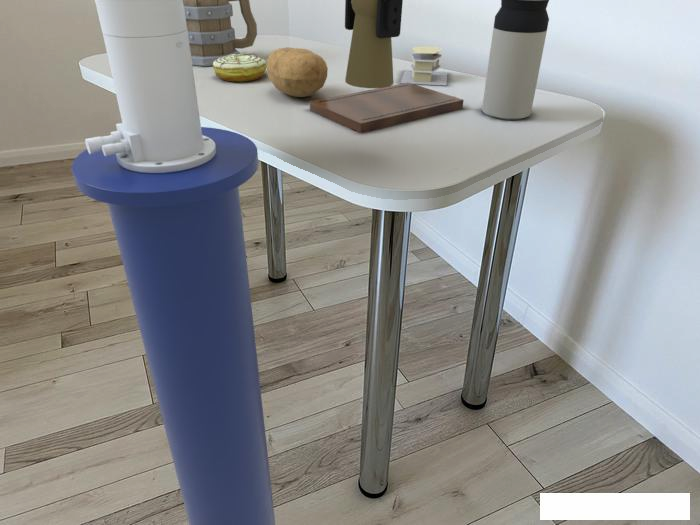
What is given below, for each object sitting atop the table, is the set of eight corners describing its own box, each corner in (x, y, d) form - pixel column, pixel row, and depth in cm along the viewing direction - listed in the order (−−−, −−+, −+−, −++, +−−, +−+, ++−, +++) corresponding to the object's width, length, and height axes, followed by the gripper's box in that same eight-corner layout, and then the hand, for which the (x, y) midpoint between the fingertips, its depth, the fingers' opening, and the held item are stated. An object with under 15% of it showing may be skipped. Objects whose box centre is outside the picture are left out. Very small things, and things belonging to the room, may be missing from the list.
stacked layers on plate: (446, 85, 105) (449, 56, 102) (400, 83, 106) (402, 53, 103) (447, 73, 113) (450, 45, 110) (404, 71, 115) (406, 43, 112)
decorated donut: (265, 69, 115) (263, 50, 113) (269, 82, 106) (267, 62, 104) (214, 71, 113) (212, 52, 111) (214, 84, 104) (212, 63, 102)
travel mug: (520, 123, 86) (543, -2, 76) (473, 114, 90) (490, -7, 80) (537, 111, 91) (560, -7, 82) (492, 103, 95) (510, -11, 85)
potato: (299, 83, 105) (297, 39, 101) (340, 100, 96) (340, 52, 92) (254, 90, 101) (250, 45, 96) (293, 109, 91) (291, 59, 87)
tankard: (186, 68, 115) (174, -11, 107) (177, 56, 125) (166, -17, 117) (276, 60, 122) (272, -14, 114) (261, 50, 132) (256, -20, 124)
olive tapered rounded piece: (403, 85, 66) (411, -15, 60) (360, 90, 64) (365, -14, 58) (377, 74, 71) (382, -21, 65) (336, 78, 68) (338, -20, 62)
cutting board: (360, 133, 81) (360, 123, 80) (309, 110, 91) (309, 101, 90) (462, 108, 92) (463, 99, 92) (407, 90, 102) (408, 82, 101)
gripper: (304, -158, 58) (306, 24, 68) (410, -173, 47) (394, 49, 57) (359, -151, 62) (353, 20, 72) (470, -163, 51) (445, 42, 60)
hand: (371, 31), depth 64 cm, fingers closed on olive tapered rounded piece, 5 cm apart
